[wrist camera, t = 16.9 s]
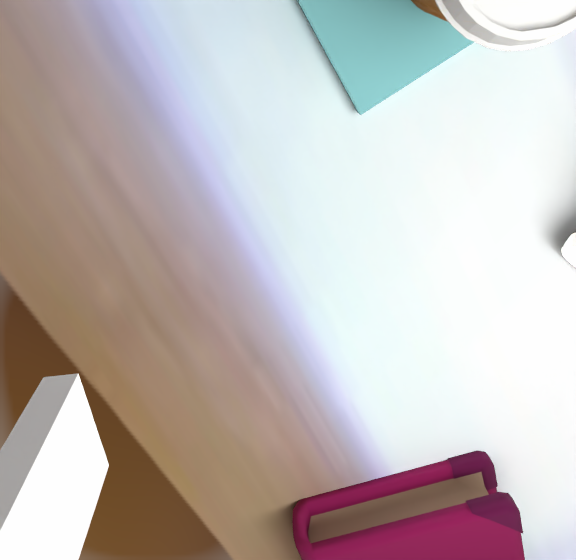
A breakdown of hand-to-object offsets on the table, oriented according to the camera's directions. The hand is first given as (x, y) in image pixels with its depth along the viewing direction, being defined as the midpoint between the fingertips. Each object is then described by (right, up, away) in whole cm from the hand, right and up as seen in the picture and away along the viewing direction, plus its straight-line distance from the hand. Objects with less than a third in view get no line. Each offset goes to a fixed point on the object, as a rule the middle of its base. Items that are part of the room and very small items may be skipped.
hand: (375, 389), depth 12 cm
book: (+12, -29, +48) cm, 57 cm away
